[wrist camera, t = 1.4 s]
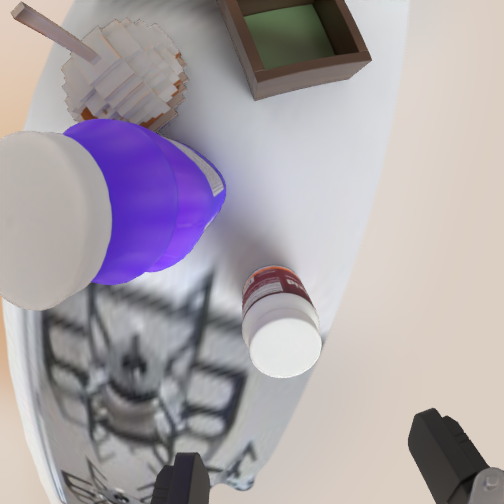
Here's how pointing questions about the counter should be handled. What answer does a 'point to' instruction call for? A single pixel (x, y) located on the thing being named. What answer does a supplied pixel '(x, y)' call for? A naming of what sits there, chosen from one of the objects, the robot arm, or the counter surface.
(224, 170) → the counter surface
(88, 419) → the counter surface
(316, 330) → the pill bottle
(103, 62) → the decorative ornament
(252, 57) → the organiser
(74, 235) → the bottle
